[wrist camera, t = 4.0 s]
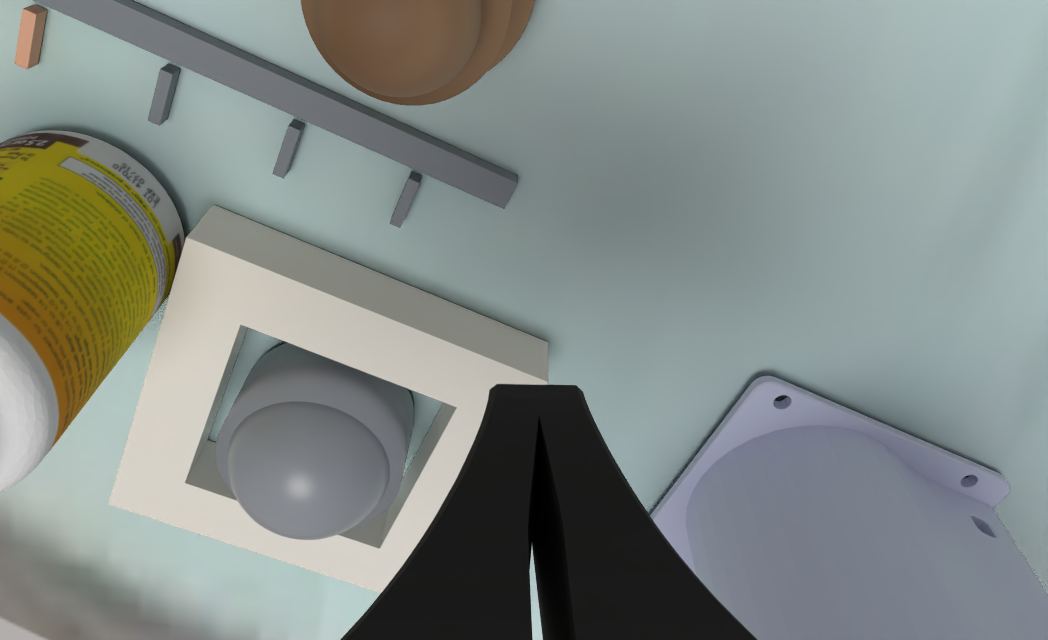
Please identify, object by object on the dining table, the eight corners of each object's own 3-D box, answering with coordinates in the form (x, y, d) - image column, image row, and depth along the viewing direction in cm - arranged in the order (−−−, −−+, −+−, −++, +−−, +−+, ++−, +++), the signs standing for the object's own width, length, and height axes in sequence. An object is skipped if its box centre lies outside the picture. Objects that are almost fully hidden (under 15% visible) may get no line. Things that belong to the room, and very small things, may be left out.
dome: (440, 375, 25) (421, 481, 21) (380, 491, 28) (353, 605, 24) (272, 309, 24) (220, 408, 20) (225, 437, 27) (170, 546, 23)
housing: (547, 342, 25) (548, 382, 23) (421, 557, 29) (413, 603, 28) (213, 204, 22) (186, 237, 21) (135, 460, 27) (108, 504, 26)
